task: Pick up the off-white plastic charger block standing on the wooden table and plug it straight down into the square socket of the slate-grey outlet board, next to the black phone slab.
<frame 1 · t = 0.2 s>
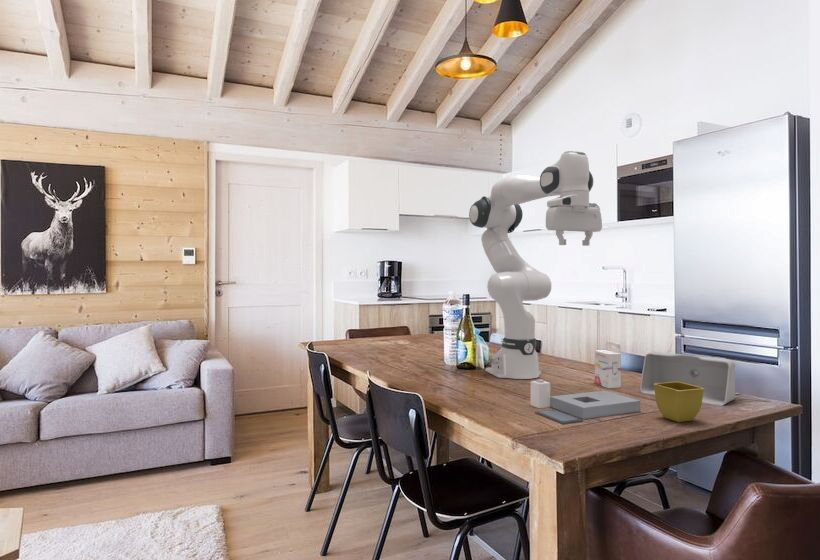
hand: (574, 245, 173), 47 cm above the table, fingers open, 8 cm apart
phone slab: (558, 419, 145), on the table
ink cartridge box: (607, 386, 185), on the table
charger block: (540, 406, 157), on the table
outlet board: (594, 409, 154), on the table
tank: (689, 395, 172), on the table
flower pot: (678, 420, 143), on the table
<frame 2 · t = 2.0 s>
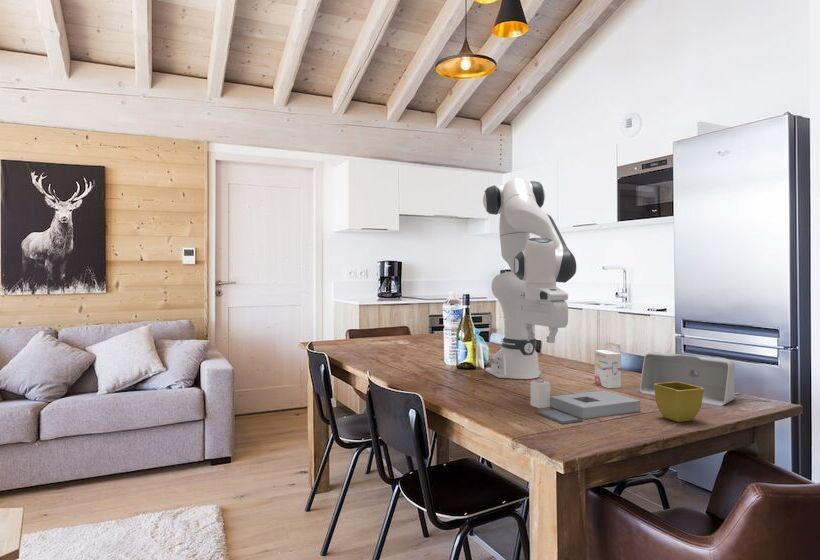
hand: (540, 340, 157), 19 cm above the table, fingers open, 8 cm apart
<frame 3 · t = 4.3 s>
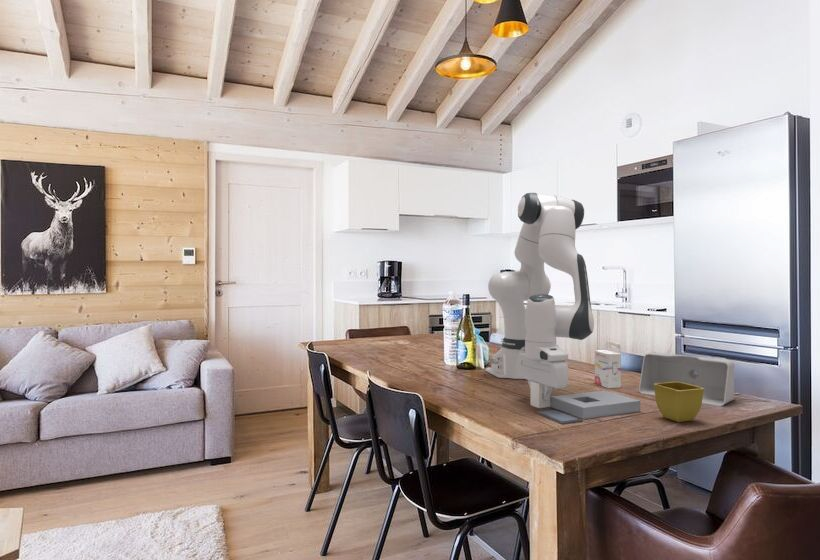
hand: (540, 397, 157), 2 cm above the table, fingers closed on charger block, 4 cm apart
charger block: (540, 405, 157), on the table, touching gripper
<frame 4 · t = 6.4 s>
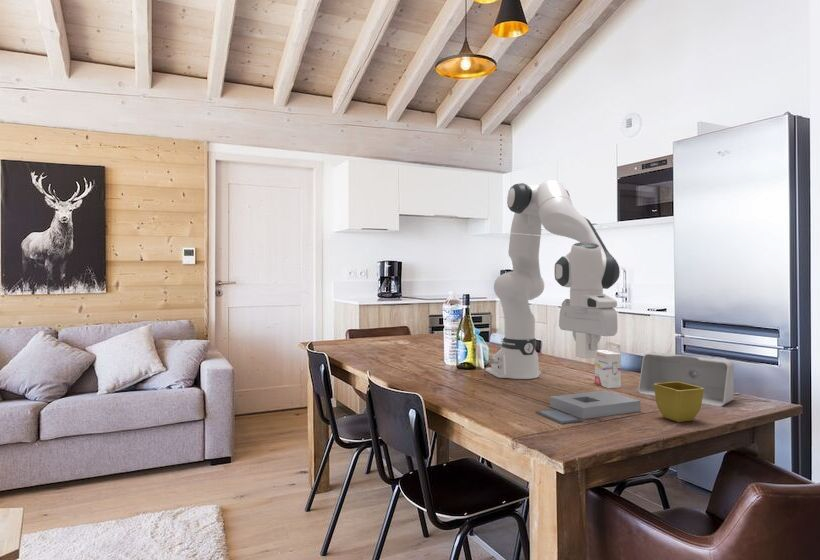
hand: (586, 349, 152), 17 cm above the table, fingers closed on charger block, 4 cm apart
charger block: (586, 357, 152), point 15 cm above the table, touching gripper
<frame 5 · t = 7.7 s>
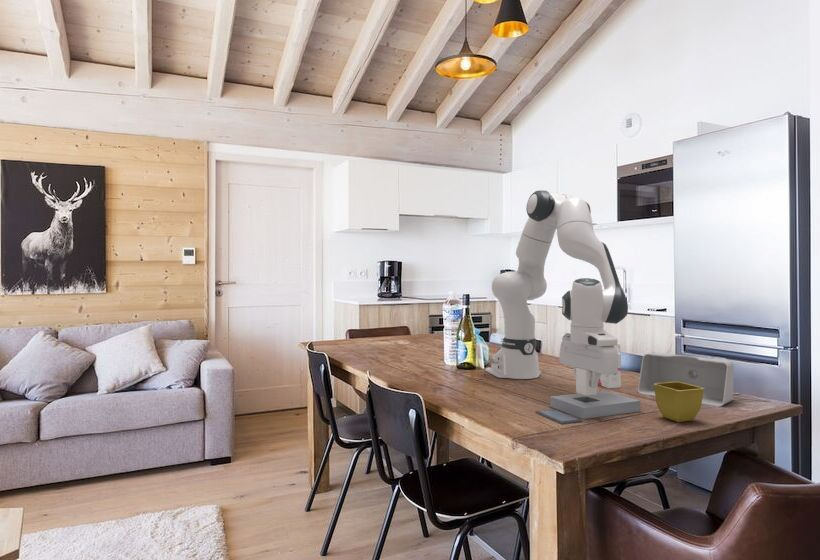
hand: (586, 385, 153), 7 cm above the table, fingers closed on charger block, 4 cm apart
charger block: (586, 393, 153), point 5 cm above the table, touching gripper
when the fingers open (4 cm above the table, at t = 8.7 s): charger block drops 1 cm, resting on outlet board.
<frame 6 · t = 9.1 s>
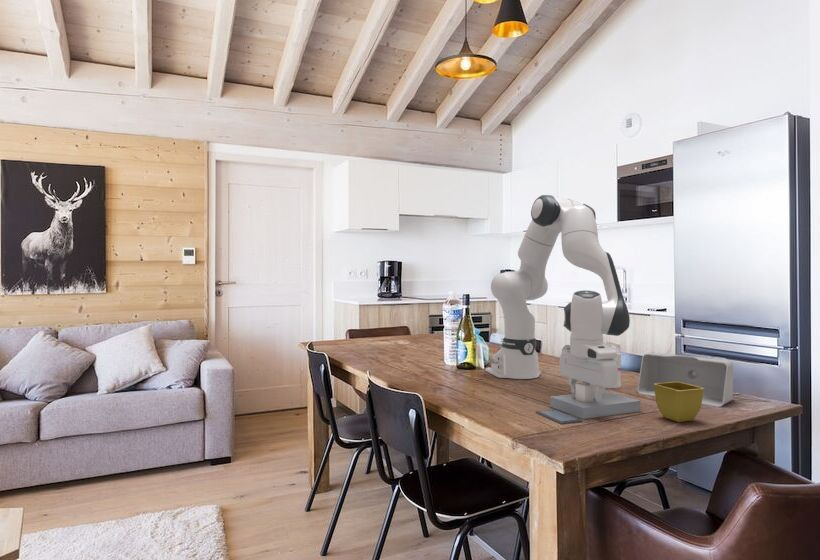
hand: (586, 397, 153), 4 cm above the table, fingers open, 8 cm apart
charger block: (585, 409, 153), resting on outlet board
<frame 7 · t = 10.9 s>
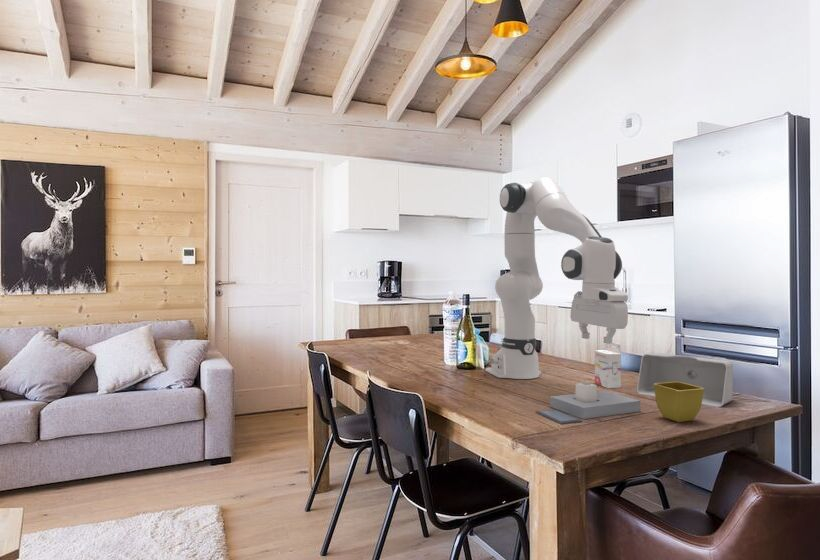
hand: (596, 340, 156), 19 cm above the table, fingers open, 8 cm apart
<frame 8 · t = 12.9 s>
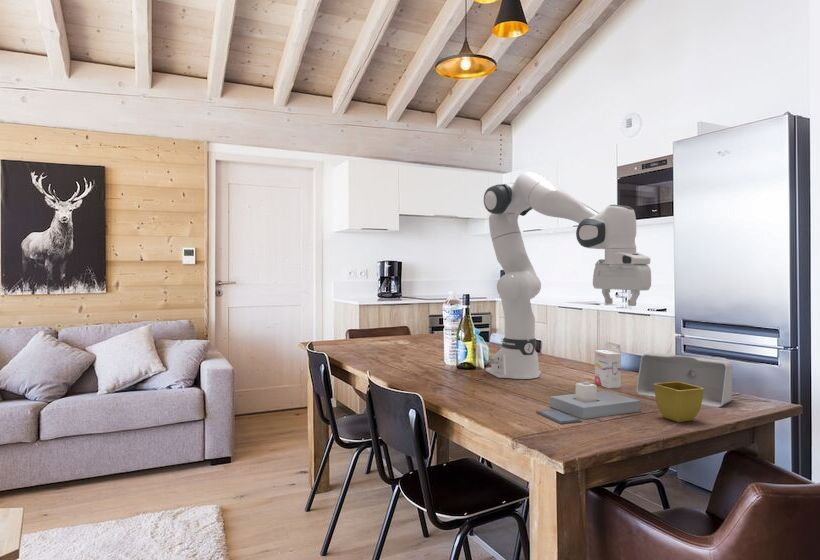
hand: (620, 304, 162), 29 cm above the table, fingers open, 8 cm apart
at the end: charger block 0.1 cm from the target spot on the outlet board, point 0.3 cm above the outlet board's base; charger block tilted 0°; the gripper is holding nothing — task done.
